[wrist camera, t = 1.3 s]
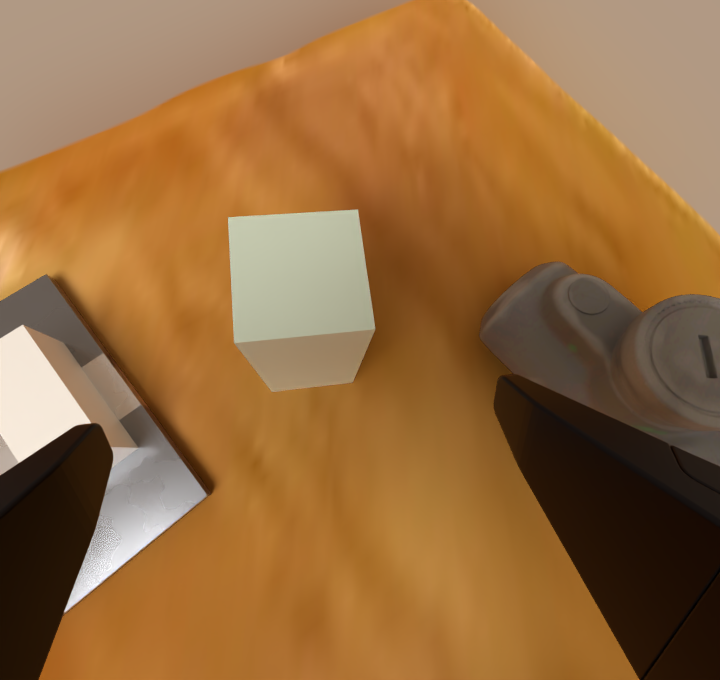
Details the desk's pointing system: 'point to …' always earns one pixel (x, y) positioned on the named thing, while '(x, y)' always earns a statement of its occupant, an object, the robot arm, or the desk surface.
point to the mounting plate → (155, 447)
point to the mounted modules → (49, 396)
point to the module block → (300, 297)
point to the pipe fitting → (615, 352)
